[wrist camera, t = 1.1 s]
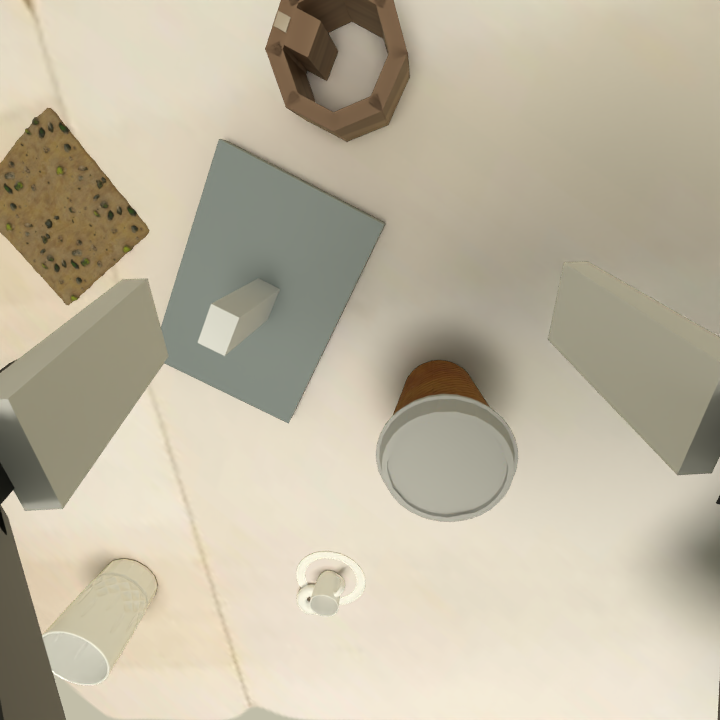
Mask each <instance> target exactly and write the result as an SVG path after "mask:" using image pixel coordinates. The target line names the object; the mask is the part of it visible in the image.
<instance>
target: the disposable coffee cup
mask: <svg viewBox="0 0 720 720" xmlns="http://www.w3.org/2000/svg"><path fill="white" fill-rule="evenodd" d="M376 461H377V466H378V471H379V473H380V475H381V477H382V479H383V482H384V483H385V485H386V486H387V488H388V490H389V491H390V493H391V495H392V496H393V497H394V498H395V499H396V500H397V501H398V502H399V504H400V505H402V506H403V507H405V508H406V509H407V510H409V511H410V512H412V513H414V514H416V515H418V516H421V517H423V518H426V519H430V520H436V521H443V522H455V521H463V520H467V519H472V518H474V517H477V516H479V515H482V514H483V513H485V512H487V511H489V510H490V509H492V508H493V507H494V506H495V505H496V504H497V503H498V502H499V501H500V500H501V499H502V498H503V497H504V496H505V495H506V493H507V491H508V490H509V488H510V485H511V482H512V480H513V477H514V474H515V472H516V468H517V462H518V448H517V444H516V440H515V437H514V435H513V433H512V431H511V429H510V427H509V426H508V425H507V423H506V422H505V421H504V419H503V418H502V417H501V416H500V415H499V414H497V413H496V412H495V411H494V410H492V409H491V408H490V407H489V405H488V404H487V402H486V401H485V399H484V398H483V396H482V395H481V393H480V392H479V390H478V388H477V387H476V386H475V384H474V383H473V381H472V379H471V378H470V376H469V374H468V373H467V372H466V371H465V370H464V369H463V368H461V367H460V366H458V365H457V364H454V363H452V362H449V361H443V360H435V361H430V362H427V363H424V364H422V365H420V366H418V367H417V368H416V369H414V370H413V371H412V373H411V374H410V375H409V376H408V378H407V380H406V383H405V386H404V388H403V391H402V393H401V396H400V398H399V401H398V404H397V406H396V408H395V411H394V414H393V416H392V417H391V418H390V420H389V421H388V422H387V423H386V424H385V426H384V428H383V430H382V432H381V434H380V436H379V440H378V443H377V449H376Z"/></svg>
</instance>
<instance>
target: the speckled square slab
mask: <svg viewBox="0 0 720 720" xmlns="http://www.w3.org/2000/svg"><path fill="white" fill-rule="evenodd" d="M0 232H1V234H2V235H4V236H5V237H6V238H7V239H8V240H9V241H10V242H11V244H12V245H13V246H14V247H15V248H16V249H17V250H18V251H19V252H20V253H21V254H22V255H23V257H24V258H25V259H26V260H27V261H28V262H29V263H30V264H31V265H32V267H33V268H34V269H35V271H36V272H37V273H39V274H40V275H41V277H43V279H44V280H45V281H46V282H47V283H48V284H49V286H50V287H51V288H52V289H53V290H54V291H55V292H56V293H57V295H58V296H59V297H60V298H62V300H63V301H64V303H65V304H66V305H69V304H70V303H72V302H73V301H75V300H77V299H78V298H79V296H80V295H81V294H82V293H84V292H85V291H86V290H87V289H88V288H90V287H91V286H92V284H93V283H94V282H95V281H96V280H97V279H98V278H100V277H101V276H103V275H104V274H105V272H106V271H107V270H108V269H109V268H111V267H112V266H114V265H115V263H117V262H118V261H119V260H120V259H121V258H122V257H123V256H124V255H125V254H126V253H127V252H129V251H131V250H132V248H133V247H134V246H135V245H136V244H137V243H139V242H140V241H141V240H142V239H143V238H145V237H146V235H147V234H148V233H149V229H148V227H147V225H146V224H145V223H144V222H143V221H142V219H141V218H140V217H139V216H138V214H137V213H136V212H135V210H134V209H133V208H132V207H131V206H130V205H129V203H128V202H127V200H126V199H125V198H124V197H123V196H122V195H121V194H120V193H119V192H118V190H117V189H116V188H115V186H114V185H113V184H112V183H111V181H110V180H109V178H108V177H107V176H106V175H105V174H104V173H103V172H102V170H101V169H100V168H99V166H98V165H97V164H96V162H95V161H94V160H93V159H92V158H91V157H90V156H89V154H88V153H87V152H86V151H85V150H84V148H83V147H82V146H81V144H80V143H79V141H78V140H77V139H76V138H75V137H74V136H73V134H72V133H71V132H70V130H69V129H68V128H67V127H66V126H65V125H64V123H63V122H62V121H61V120H60V118H59V117H58V115H57V114H56V113H55V112H54V111H53V110H52V109H51V108H47V109H46V110H45V111H44V112H43V113H42V114H41V115H39V116H38V117H35V118H34V119H33V121H32V124H31V126H30V127H29V128H27V129H25V133H24V134H23V135H22V136H21V137H20V138H19V139H18V140H17V141H16V143H15V145H14V146H13V147H12V149H11V150H10V151H9V152H8V154H7V155H6V157H5V158H4V160H3V161H2V162H1V163H0Z"/></svg>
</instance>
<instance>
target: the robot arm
mask: <svg viewBox="0 0 720 720" xmlns="http://www.w3.org/2000/svg"><path fill="white" fill-rule="evenodd" d="M548 340H549V341H550V342H551V343H552V344H553V345H554V347H555V348H556V349H557V350H558V351H559V352H560V353H561V354H562V355H563V356H564V357H565V358H566V359H567V360H568V361H569V362H570V363H571V364H572V365H573V366H574V367H575V368H576V370H577V371H578V372H579V373H580V374H581V375H582V376H583V377H584V378H585V379H586V380H587V381H588V382H589V383H590V384H591V385H592V386H593V387H594V388H595V389H596V390H597V392H598V393H599V394H600V395H601V396H602V397H603V398H604V399H605V400H606V401H607V402H608V403H609V404H610V405H611V406H612V407H613V408H614V409H615V410H616V411H617V412H618V413H619V415H620V416H621V417H622V418H623V419H624V420H625V421H626V422H627V423H628V424H629V425H630V426H631V427H632V428H633V429H634V430H635V431H636V432H637V433H638V434H639V435H640V437H641V438H642V439H643V440H644V441H645V442H646V443H647V444H648V445H649V446H650V447H651V448H652V449H653V450H654V451H655V452H656V453H657V454H658V455H659V456H660V457H661V459H662V460H663V461H664V462H665V463H666V464H667V465H668V466H669V467H670V468H671V469H672V470H673V471H674V472H675V473H676V474H677V475H688V474H706V473H712V471H713V469H714V467H715V465H716V463H717V461H718V459H719V457H720V337H718V336H717V335H715V334H713V333H711V332H710V331H708V330H706V329H704V328H703V327H701V326H699V325H697V324H696V323H694V322H692V321H690V320H689V319H687V318H685V317H683V316H682V315H680V314H678V313H676V312H675V311H673V310H671V309H670V308H668V307H666V306H664V305H663V304H661V303H659V302H657V301H656V300H654V299H652V298H650V297H649V296H647V295H645V294H643V293H642V292H640V291H638V290H636V289H635V288H633V287H631V286H629V285H628V284H626V283H624V282H622V281H621V280H619V279H617V278H615V277H614V276H612V275H610V274H608V273H607V272H605V271H603V270H601V269H600V268H598V267H596V266H594V265H593V264H591V263H589V262H564V264H563V269H562V274H561V279H560V284H559V289H558V293H557V298H556V303H555V308H554V313H553V318H552V323H551V327H550V332H549V337H548ZM168 357H169V356H168V353H167V349H166V345H165V341H164V338H163V334H162V330H161V327H160V323H159V319H158V315H157V312H156V308H155V304H154V301H153V297H152V293H151V290H150V286H149V282H148V278H147V279H122V280H121V281H120V282H118V283H117V284H116V285H115V286H113V287H112V288H111V289H109V290H108V291H107V292H105V293H104V294H103V295H101V296H100V297H99V298H98V299H96V300H95V301H94V302H92V303H91V304H90V305H88V306H87V307H86V308H84V309H83V310H82V311H81V312H79V313H78V314H77V315H75V316H74V317H73V318H71V319H70V320H69V321H67V322H66V323H65V324H64V325H62V326H61V327H60V328H58V329H57V330H56V331H54V332H53V333H52V334H50V335H49V336H48V337H47V338H45V339H44V340H43V341H41V342H40V343H39V344H37V345H36V346H35V347H33V348H32V349H31V350H30V351H28V352H27V353H26V354H24V355H23V356H22V357H20V358H19V359H17V360H15V361H13V362H11V363H9V364H8V365H6V366H5V367H4V368H2V369H1V370H0V720H66V718H65V714H64V711H63V707H62V704H61V701H60V697H59V693H58V690H57V687H56V683H55V679H54V676H53V672H52V669H51V665H50V662H49V658H48V655H47V652H46V648H45V645H44V641H43V638H42V634H41V631H40V627H39V624H38V620H37V617H36V613H35V610H34V606H33V603H32V599H31V596H30V592H29V589H28V585H27V582H26V578H25V575H24V571H23V568H22V564H21V561H20V557H19V554H18V550H17V547H16V543H15V540H14V536H13V533H12V529H11V526H10V522H9V519H8V516H7V515H6V513H5V511H4V510H3V508H2V506H1V503H2V502H3V501H4V500H5V499H6V498H7V496H8V495H9V494H10V493H11V492H12V491H13V490H14V492H15V494H16V495H17V497H18V499H19V501H20V503H21V504H22V506H23V508H24V510H25V511H31V510H50V509H63V508H64V506H65V505H66V503H67V502H68V501H69V499H70V498H71V496H72V495H73V493H74V492H75V490H76V489H77V488H78V486H79V485H80V483H81V482H82V480H83V479H84V477H85V476H86V475H87V473H88V472H89V470H90V469H91V467H92V466H93V465H94V463H95V462H96V460H97V459H98V457H99V456H100V454H101V453H102V452H103V450H104V449H105V447H106V446H107V444H108V443H109V442H110V440H111V439H112V437H113V436H114V434H115V433H116V431H117V430H118V429H119V427H120V426H121V424H122V423H123V421H124V420H125V418H126V417H127V416H128V414H129V413H130V411H131V410H132V408H133V407H134V406H135V404H136V403H137V401H138V400H139V398H140V397H141V395H142V394H143V393H144V391H145V390H146V388H147V387H148V385H149V384H150V382H151V381H152V380H153V378H154V377H155V375H156V374H157V372H158V371H159V370H160V368H161V367H162V365H163V364H164V362H165V361H166V359H167V358H168ZM716 503H717V504H720V496H719V498H718V500H717V502H716ZM718 720H720V683H719V704H718Z"/></svg>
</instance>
